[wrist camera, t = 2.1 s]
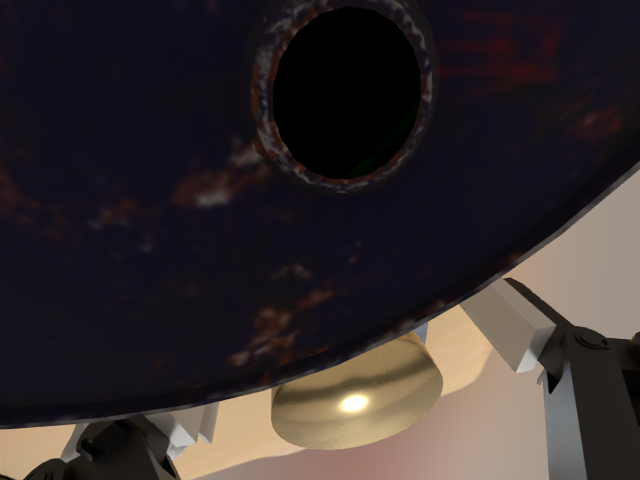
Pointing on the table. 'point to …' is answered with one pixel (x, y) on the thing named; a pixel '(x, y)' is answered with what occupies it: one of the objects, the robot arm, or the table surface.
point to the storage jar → (281, 181)
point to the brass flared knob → (359, 397)
